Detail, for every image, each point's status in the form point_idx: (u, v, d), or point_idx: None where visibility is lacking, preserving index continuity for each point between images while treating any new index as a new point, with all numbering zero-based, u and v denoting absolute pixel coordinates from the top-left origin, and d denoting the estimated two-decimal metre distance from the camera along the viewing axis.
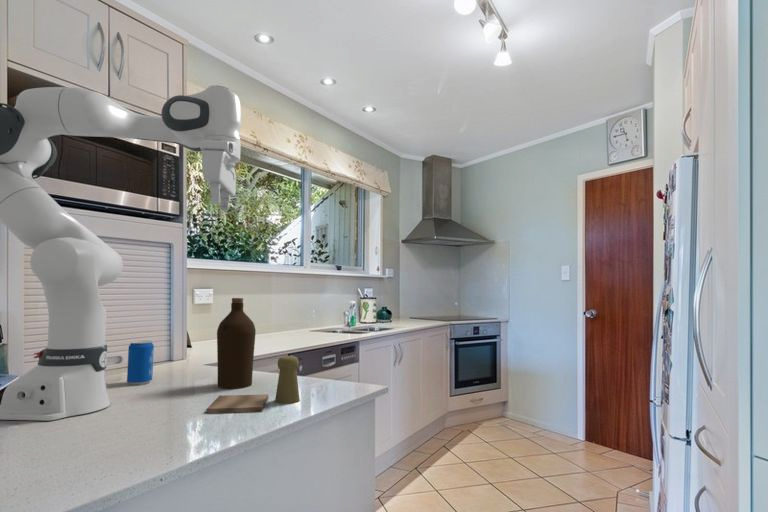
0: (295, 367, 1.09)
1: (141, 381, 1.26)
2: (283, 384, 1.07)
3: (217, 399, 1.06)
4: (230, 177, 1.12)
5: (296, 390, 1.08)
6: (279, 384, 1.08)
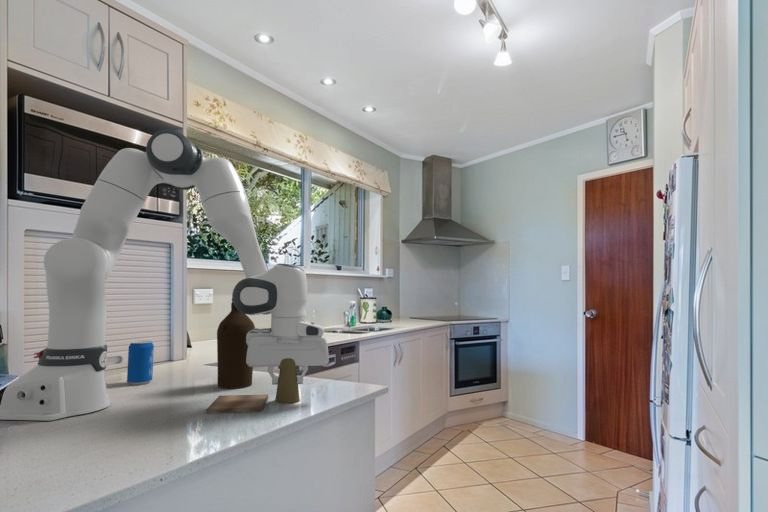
0: (295, 367, 1.09)
1: (141, 381, 1.26)
2: (283, 384, 1.07)
3: (217, 399, 1.06)
4: None
5: (296, 390, 1.08)
6: (279, 384, 1.08)
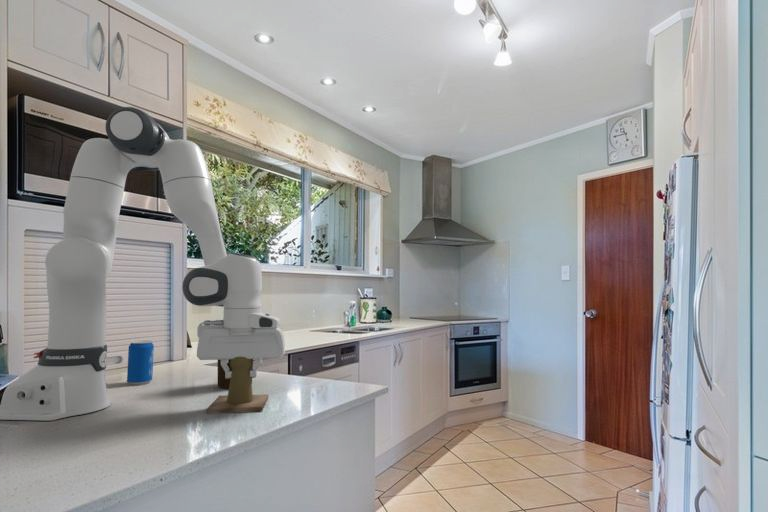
0: (248, 366, 1.04)
1: (141, 381, 1.26)
2: (235, 384, 1.03)
3: (217, 399, 1.06)
4: None
5: (248, 390, 1.04)
6: (231, 383, 1.04)
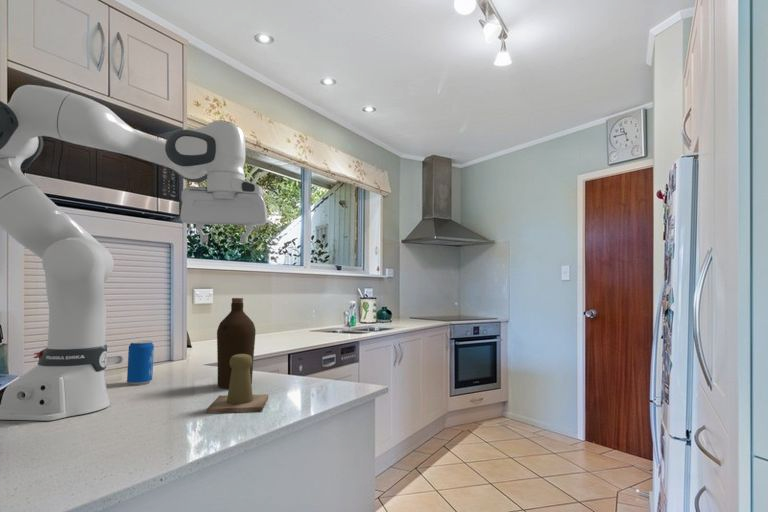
0: (247, 366, 1.04)
1: (141, 381, 1.26)
2: (235, 384, 1.03)
3: (217, 399, 1.06)
4: None
5: (248, 390, 1.04)
6: (230, 383, 1.04)
